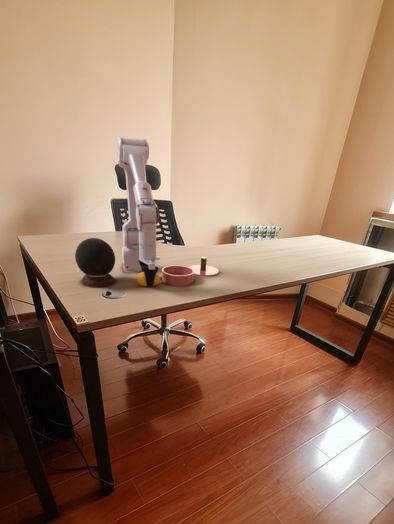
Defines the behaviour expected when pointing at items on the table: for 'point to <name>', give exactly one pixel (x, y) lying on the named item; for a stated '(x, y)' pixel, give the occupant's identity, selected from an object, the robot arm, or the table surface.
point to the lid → (204, 268)
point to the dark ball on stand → (95, 262)
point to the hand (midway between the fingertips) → (148, 283)
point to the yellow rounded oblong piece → (142, 280)
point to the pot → (177, 279)
